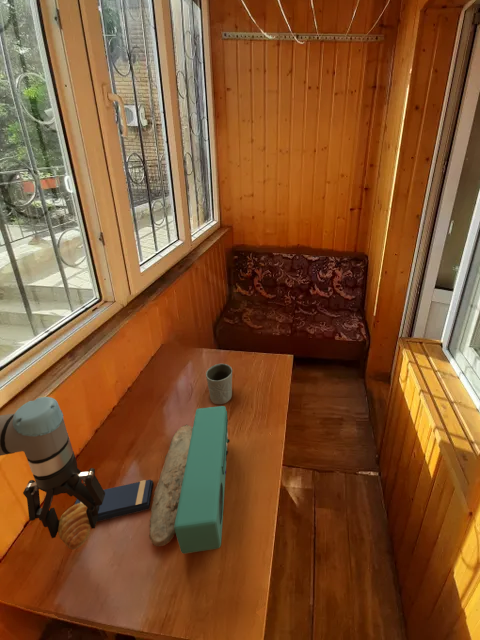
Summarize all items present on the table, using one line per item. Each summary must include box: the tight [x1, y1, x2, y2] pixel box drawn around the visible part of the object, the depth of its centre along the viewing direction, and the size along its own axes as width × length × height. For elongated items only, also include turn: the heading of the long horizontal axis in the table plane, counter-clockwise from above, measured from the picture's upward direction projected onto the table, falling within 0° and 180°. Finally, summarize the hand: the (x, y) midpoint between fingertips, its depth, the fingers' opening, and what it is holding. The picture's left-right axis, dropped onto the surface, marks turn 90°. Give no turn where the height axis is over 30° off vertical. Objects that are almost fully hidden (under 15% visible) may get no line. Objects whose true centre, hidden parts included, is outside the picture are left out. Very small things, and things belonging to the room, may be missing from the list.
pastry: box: [57, 503, 91, 550], centre depth 76 cm, size 9×7×4 cm
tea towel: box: [74, 479, 154, 523], centre depth 87 cm, size 20×7×3 cm, turn 103°
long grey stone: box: [148, 424, 193, 547], centre depth 93 cm, size 35×5×10 cm
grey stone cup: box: [205, 363, 233, 405], centre depth 123 cm, size 10×10×12 cm
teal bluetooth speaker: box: [174, 405, 230, 554], centre depth 88 cm, size 34×10×15 cm, turn 7°
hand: (75, 526), depth 77 cm, fingers closed on pastry, 8 cm apart
